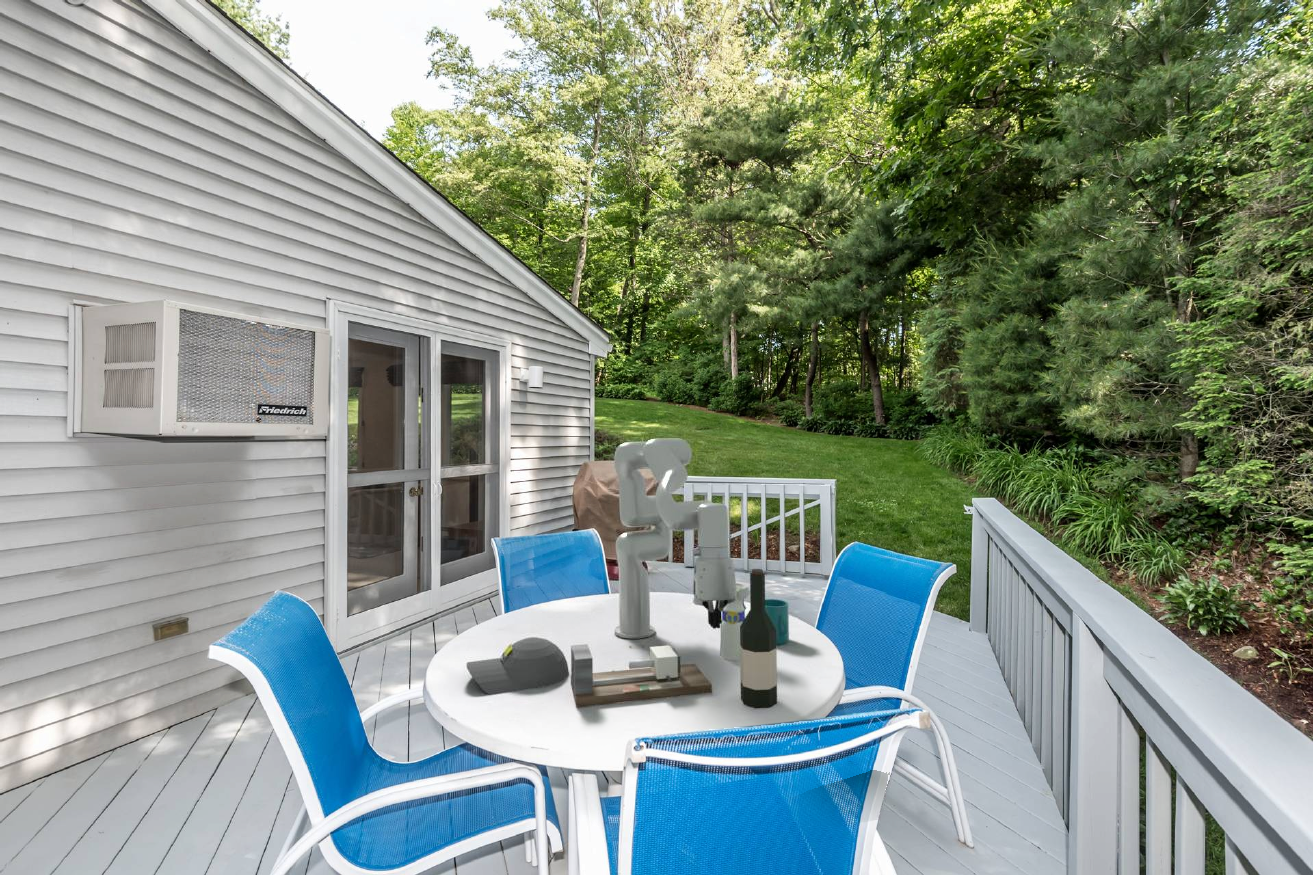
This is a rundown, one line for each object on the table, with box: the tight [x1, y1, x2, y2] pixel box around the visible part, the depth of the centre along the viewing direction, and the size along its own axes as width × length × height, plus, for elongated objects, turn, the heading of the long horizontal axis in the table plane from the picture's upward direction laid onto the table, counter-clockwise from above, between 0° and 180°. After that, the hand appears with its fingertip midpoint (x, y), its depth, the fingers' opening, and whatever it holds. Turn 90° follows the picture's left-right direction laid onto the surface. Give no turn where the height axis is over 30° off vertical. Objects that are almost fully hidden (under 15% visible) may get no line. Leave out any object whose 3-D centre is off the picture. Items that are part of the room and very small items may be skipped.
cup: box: [765, 598, 790, 646], centre depth 179 cm, size 9×12×11 cm
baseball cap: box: [466, 636, 570, 696], centre depth 155 cm, size 19×26×12 cm
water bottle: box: [719, 582, 750, 661], centre depth 168 cm, size 8×9×25 cm
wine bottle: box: [739, 568, 778, 709], centre depth 139 cm, size 8×8×30 cm
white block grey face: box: [628, 644, 682, 682], centre depth 146 cm, size 10×12×5 cm
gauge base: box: [570, 643, 713, 708], centre depth 147 cm, size 14×32×10 cm, turn 103°
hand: (715, 626), depth 150 cm, fingers closed
